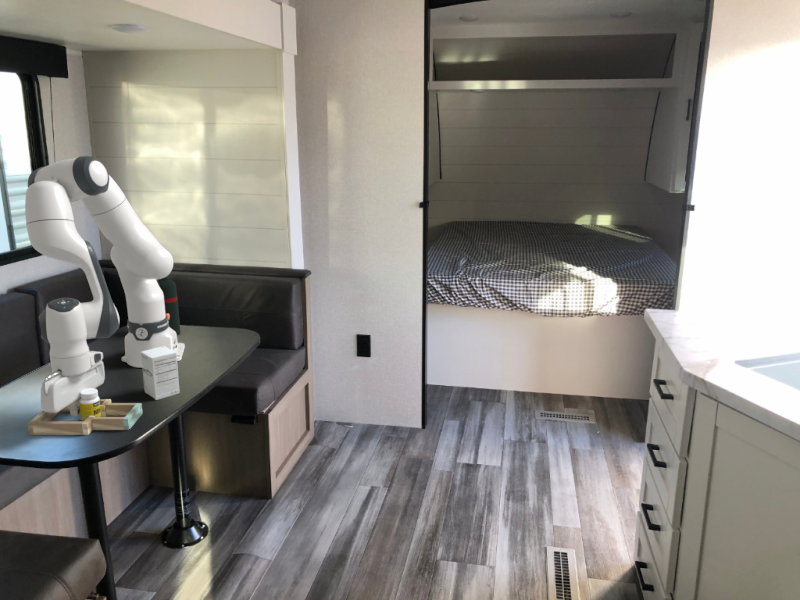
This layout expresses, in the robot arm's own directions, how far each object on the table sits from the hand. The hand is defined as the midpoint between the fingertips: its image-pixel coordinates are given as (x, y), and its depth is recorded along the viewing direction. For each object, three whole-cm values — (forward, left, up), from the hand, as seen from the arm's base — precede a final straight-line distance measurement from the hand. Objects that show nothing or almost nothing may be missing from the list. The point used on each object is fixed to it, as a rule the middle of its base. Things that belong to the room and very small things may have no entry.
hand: (77, 413), depth 164 cm
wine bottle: (-71, -1, -2) cm, 71 cm away
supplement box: (-18, +15, -3) cm, 24 cm away
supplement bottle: (0, +3, -2) cm, 4 cm away
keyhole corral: (0, +3, -2) cm, 4 cm away
